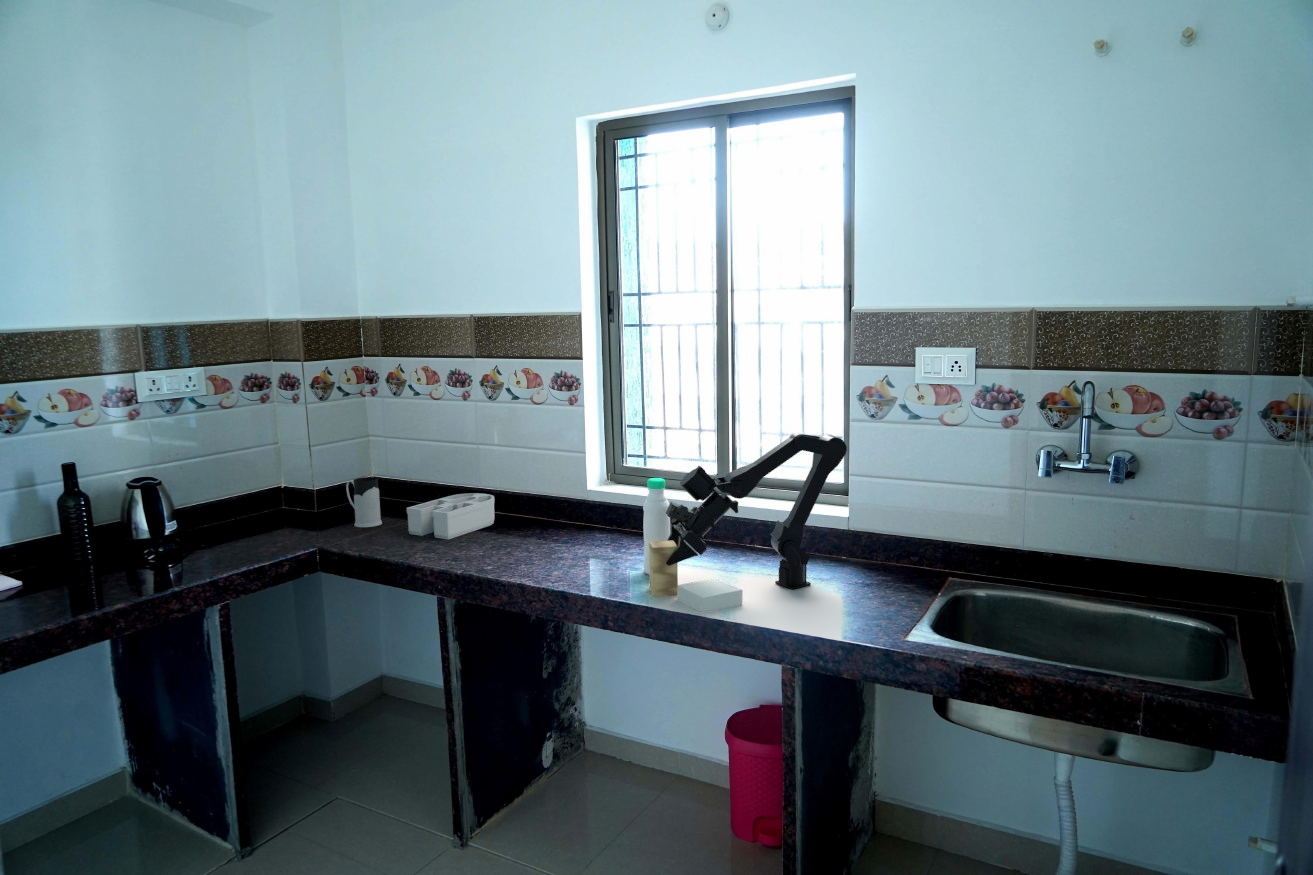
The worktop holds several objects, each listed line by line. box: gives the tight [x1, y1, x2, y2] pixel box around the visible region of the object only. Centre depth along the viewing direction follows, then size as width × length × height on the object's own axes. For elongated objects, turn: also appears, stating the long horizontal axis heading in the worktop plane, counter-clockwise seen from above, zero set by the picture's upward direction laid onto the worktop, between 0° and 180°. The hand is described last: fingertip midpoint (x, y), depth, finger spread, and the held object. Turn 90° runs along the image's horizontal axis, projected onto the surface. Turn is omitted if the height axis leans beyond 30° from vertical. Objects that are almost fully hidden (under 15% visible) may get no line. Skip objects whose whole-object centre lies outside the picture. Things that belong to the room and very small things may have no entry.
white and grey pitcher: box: [345, 476, 383, 528], centre depth 290 cm, size 9×14×15 cm, turn 57°
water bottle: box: [642, 477, 671, 576], centre depth 229 cm, size 7×7×25 cm
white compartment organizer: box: [406, 492, 495, 540], centre depth 283 cm, size 17×28×9 cm, turn 152°
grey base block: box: [676, 577, 743, 614], centre depth 207 cm, size 11×11×4 cm
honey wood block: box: [649, 540, 679, 597], centre depth 214 cm, size 6×6×12 cm
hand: (664, 559), depth 214 cm, fingers open, 9 cm apart
